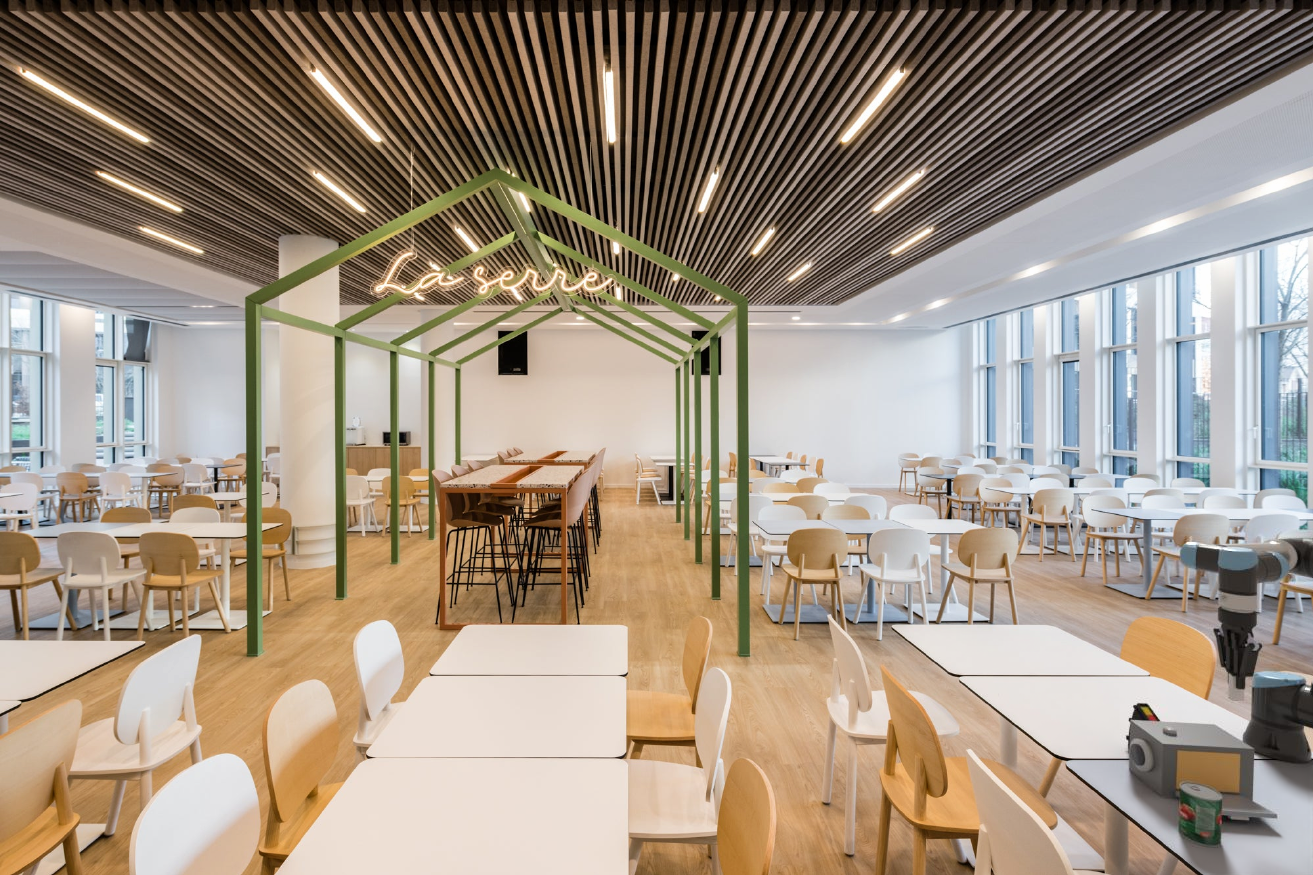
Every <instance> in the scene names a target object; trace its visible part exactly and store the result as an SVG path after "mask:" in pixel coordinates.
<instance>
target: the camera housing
mask: <svg viewBox="0 0 1313 875" xmlns="http://www.w3.org/2000/svg"><path fill="white" fill-rule="evenodd" d="M1160 721H1161V720H1160ZM1160 721H1141V720H1130V722H1129V727H1130V748H1128V750H1129V752H1128V754H1129V755H1128V757H1129V758H1128V770H1130V771H1131V772H1132V773H1133V774H1134V775H1135V776H1136V777H1137V778H1139V779H1140V780H1141V781H1142V782H1143V783H1144V784H1145V785H1147V786H1148V787H1149V788H1151V789H1152V790H1153V791H1154V792H1155V793H1156V794H1157V795H1159V796H1160V797H1161V798H1175V799H1179V797H1178V796H1176V795H1175V791H1180V786H1179V785H1180V783H1182V782H1195V783H1200V784H1203V785H1206V786H1209V787H1211V788H1213V789H1215V790H1217V791H1218V792H1219V793H1220V794H1231V795H1242V796H1244V797H1246V798H1248V799H1250V800H1252V801H1254V778H1255V777H1254V776H1255V774H1254V772H1255V751H1254V748H1252V747H1251V746H1249V745H1247V744H1246V743H1244V742H1243V740H1241V739H1239V738H1237V737H1236V736H1235V735H1233V734H1231V733H1229V732H1228V731H1226V730H1224V729H1222V728H1221V727H1219V725H1217V724H1215V723H1211V724H1210V723H1197V722H1196V723H1194V722H1193V723H1192V722H1177V721H1161V722H1160Z"/></svg>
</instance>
